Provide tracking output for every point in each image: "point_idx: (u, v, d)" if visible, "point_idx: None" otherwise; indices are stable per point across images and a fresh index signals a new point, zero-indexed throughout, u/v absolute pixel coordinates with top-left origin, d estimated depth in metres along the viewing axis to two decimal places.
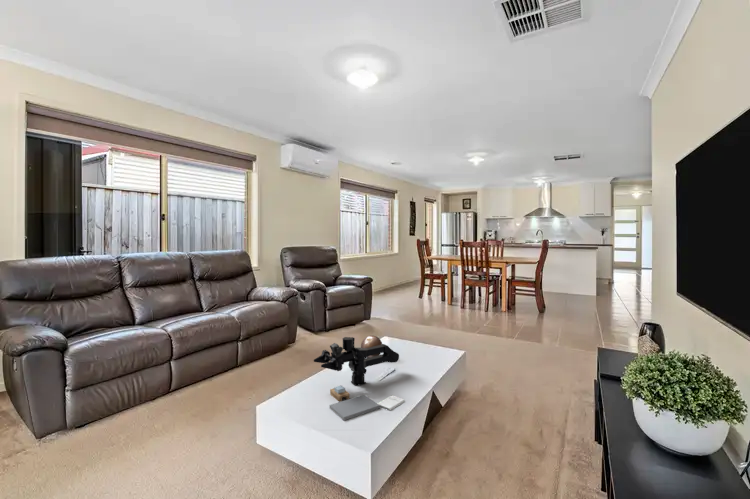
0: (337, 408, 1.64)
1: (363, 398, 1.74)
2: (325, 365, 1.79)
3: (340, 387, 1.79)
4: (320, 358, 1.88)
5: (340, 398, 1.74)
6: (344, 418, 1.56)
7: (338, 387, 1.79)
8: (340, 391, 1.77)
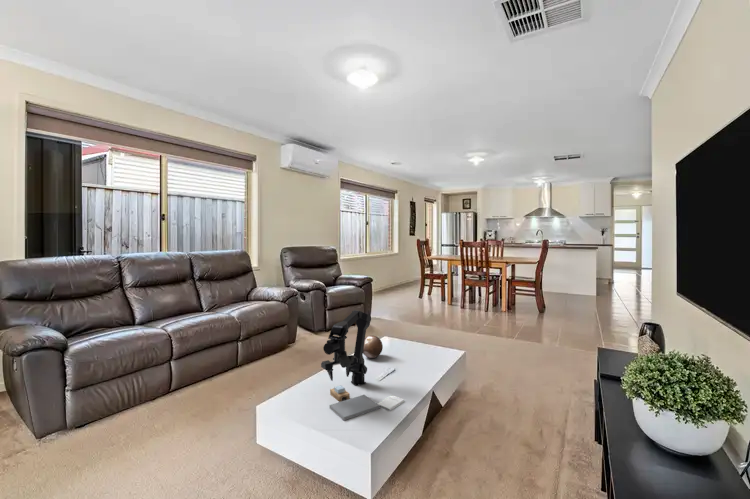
0: (337, 408, 1.64)
1: (363, 398, 1.74)
2: None
3: (340, 387, 1.80)
4: None
5: (340, 398, 1.74)
6: (344, 418, 1.56)
7: (338, 387, 1.80)
8: (340, 391, 1.78)
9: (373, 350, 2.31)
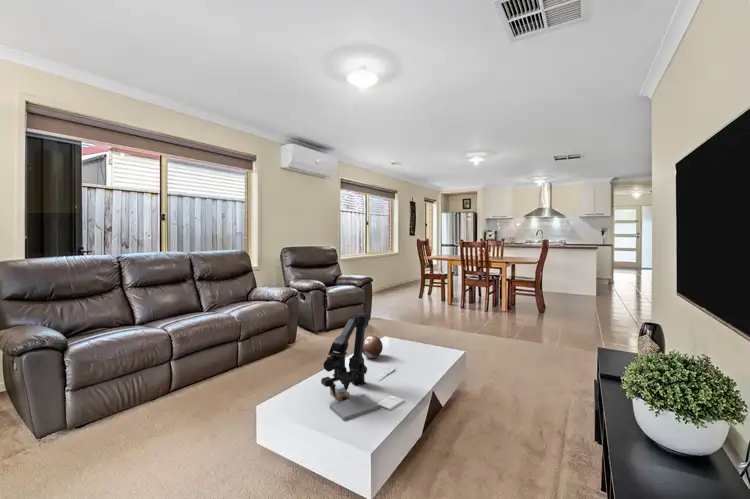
0: (337, 408, 1.64)
1: (363, 398, 1.74)
2: None
3: (340, 387, 1.80)
4: None
5: (340, 398, 1.74)
6: (344, 418, 1.56)
7: (338, 387, 1.80)
8: (340, 391, 1.78)
9: (373, 350, 2.31)
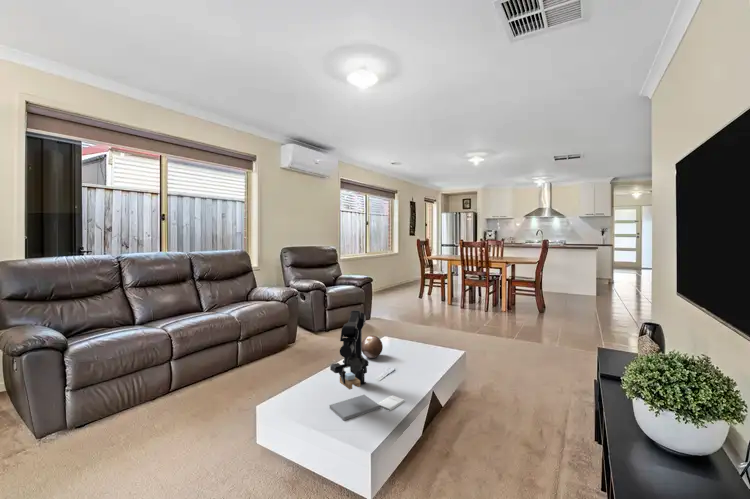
0: (337, 408, 1.64)
1: (363, 398, 1.74)
2: None
3: (350, 374, 1.70)
4: None
5: (350, 385, 1.65)
6: (344, 418, 1.56)
7: (348, 374, 1.70)
8: (350, 378, 1.68)
9: (373, 350, 2.32)
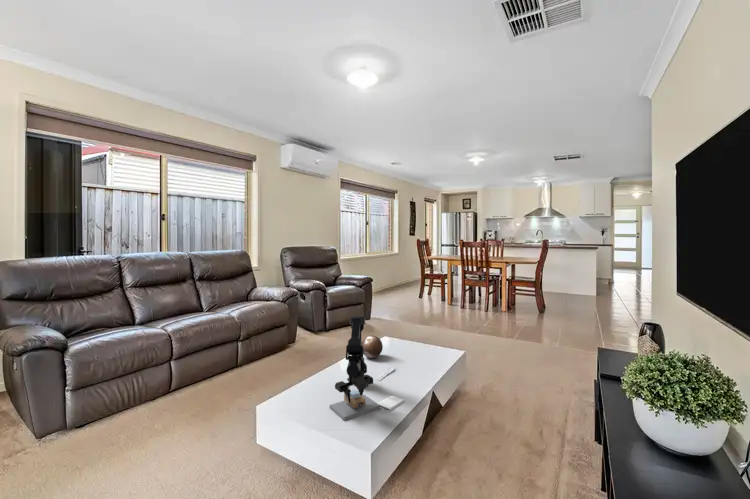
0: (337, 408, 1.64)
1: None
2: None
3: (355, 392, 1.67)
4: None
5: (355, 404, 1.62)
6: (344, 418, 1.56)
7: (353, 392, 1.67)
8: (355, 396, 1.65)
9: (373, 350, 2.31)
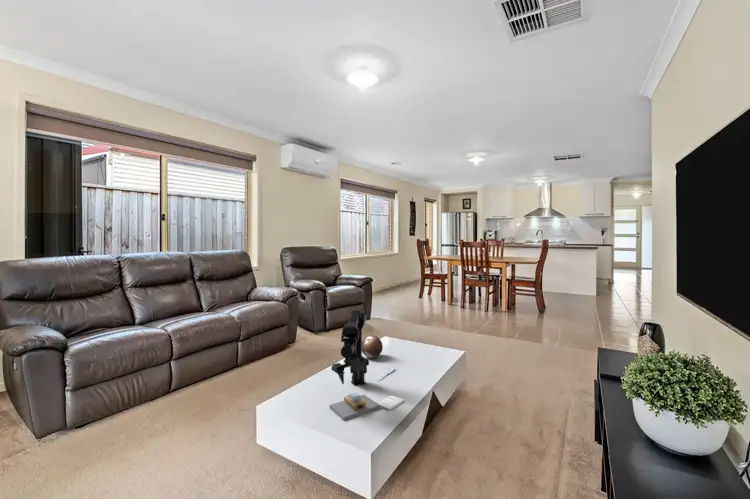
0: (337, 408, 1.64)
1: (363, 398, 1.74)
2: None
3: (355, 394, 1.67)
4: None
5: (355, 406, 1.62)
6: (344, 418, 1.56)
7: (353, 394, 1.67)
8: (355, 399, 1.65)
9: (373, 350, 2.31)
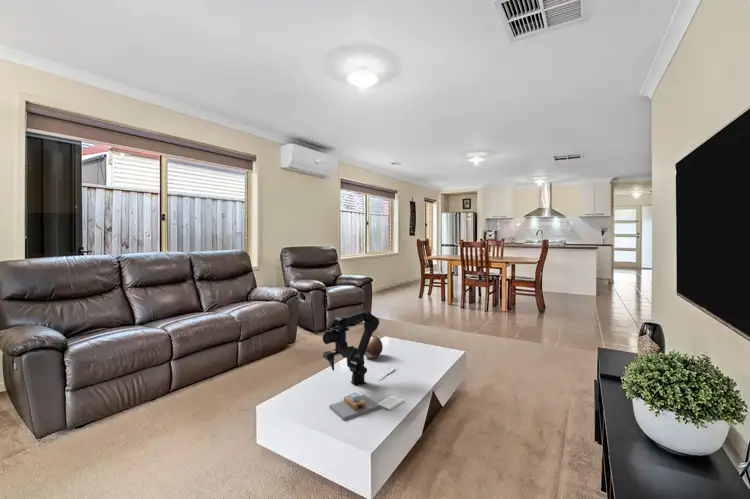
0: (337, 408, 1.64)
1: (363, 398, 1.74)
2: None
3: (355, 394, 1.67)
4: None
5: (355, 406, 1.62)
6: (344, 418, 1.56)
7: (353, 394, 1.67)
8: (355, 399, 1.65)
9: (373, 350, 2.32)
